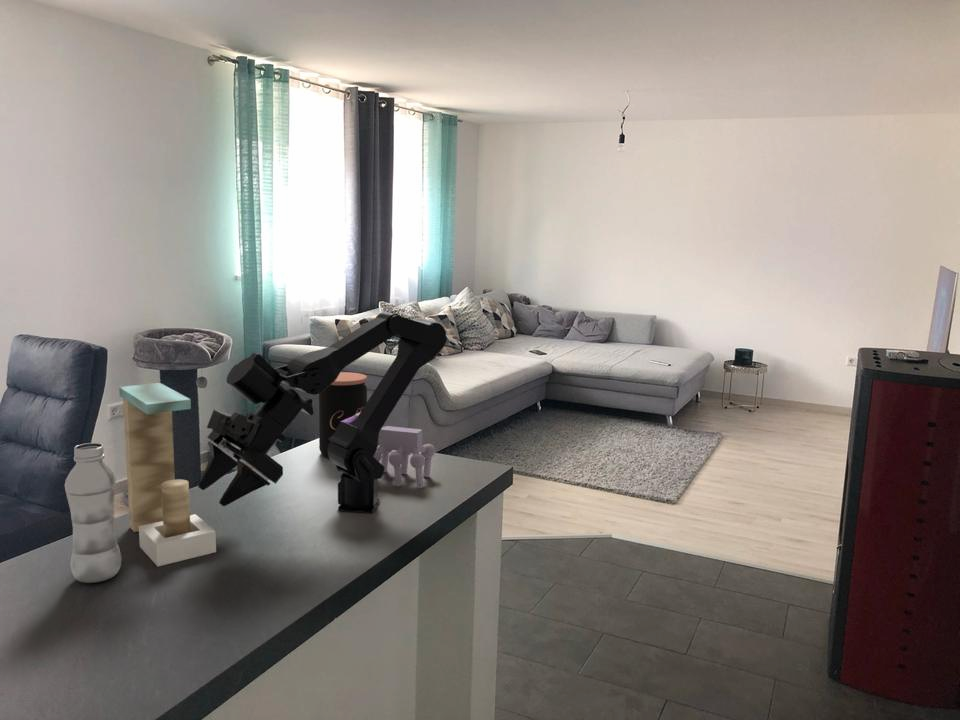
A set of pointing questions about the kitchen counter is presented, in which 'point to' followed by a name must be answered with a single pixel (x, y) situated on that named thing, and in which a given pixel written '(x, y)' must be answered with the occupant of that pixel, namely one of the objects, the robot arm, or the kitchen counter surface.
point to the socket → (177, 542)
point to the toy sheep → (402, 451)
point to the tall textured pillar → (149, 447)
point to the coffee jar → (340, 404)
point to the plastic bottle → (92, 516)
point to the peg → (175, 507)
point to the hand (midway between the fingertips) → (210, 496)
